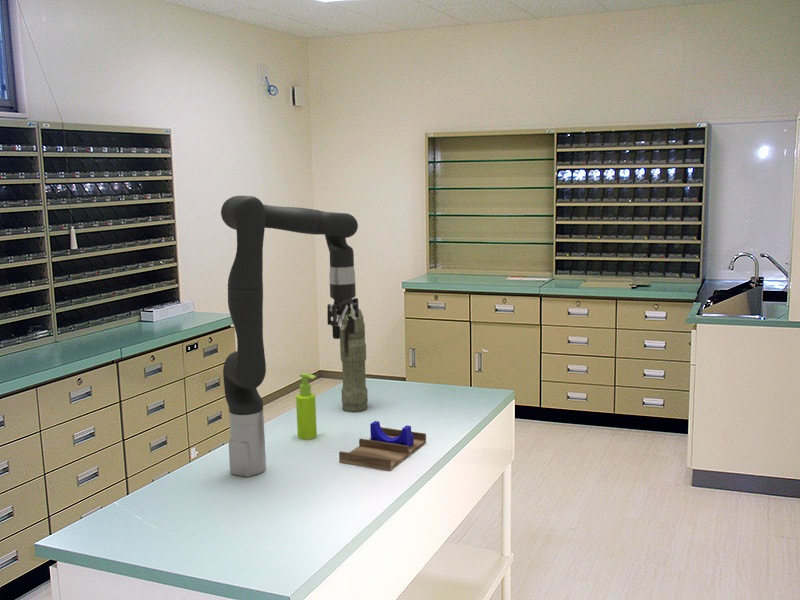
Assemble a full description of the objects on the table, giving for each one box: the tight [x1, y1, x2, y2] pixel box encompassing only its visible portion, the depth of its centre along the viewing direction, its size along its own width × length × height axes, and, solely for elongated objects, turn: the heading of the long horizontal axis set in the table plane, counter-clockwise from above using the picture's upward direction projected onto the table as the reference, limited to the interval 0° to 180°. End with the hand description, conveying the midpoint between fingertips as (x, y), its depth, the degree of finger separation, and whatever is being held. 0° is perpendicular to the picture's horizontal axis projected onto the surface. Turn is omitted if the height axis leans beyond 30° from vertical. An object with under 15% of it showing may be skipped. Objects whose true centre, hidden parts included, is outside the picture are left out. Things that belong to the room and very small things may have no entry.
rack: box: [338, 426, 427, 472], centre depth 228 cm, size 24×16×3 cm, turn 154°
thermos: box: [339, 308, 369, 413], centre depth 268 cm, size 9×12×35 cm
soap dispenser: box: [295, 372, 318, 441], centre depth 241 cm, size 6×7×20 cm
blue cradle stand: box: [369, 420, 414, 447], centre depth 232 cm, size 12×4×6 cm, turn 64°
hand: (344, 335), depth 231 cm, fingers open, 8 cm apart
